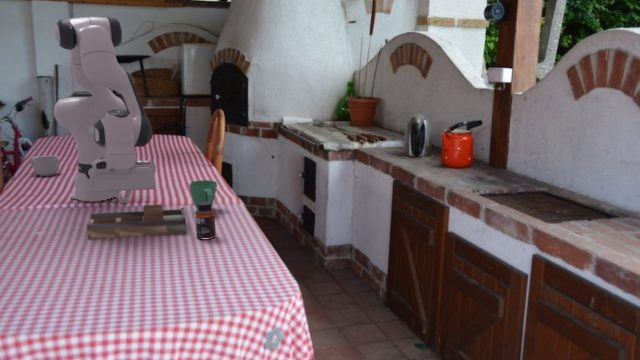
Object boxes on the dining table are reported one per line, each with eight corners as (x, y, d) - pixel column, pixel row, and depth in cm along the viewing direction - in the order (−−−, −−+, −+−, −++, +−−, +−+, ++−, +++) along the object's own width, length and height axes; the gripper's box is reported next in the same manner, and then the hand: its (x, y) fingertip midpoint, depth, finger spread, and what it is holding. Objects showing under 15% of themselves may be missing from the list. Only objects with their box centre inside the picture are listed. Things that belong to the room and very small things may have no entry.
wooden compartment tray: (91, 226, 210) (91, 212, 209) (184, 221, 217) (183, 207, 216) (87, 238, 197) (86, 223, 196) (186, 233, 205) (185, 218, 204)
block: (144, 218, 210) (143, 205, 209) (163, 217, 211) (162, 204, 210) (144, 223, 204) (143, 210, 203) (163, 222, 206) (162, 209, 205)
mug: (187, 207, 234) (186, 181, 232) (213, 205, 238) (212, 179, 236) (197, 218, 221) (196, 190, 219) (224, 215, 225) (224, 188, 223)
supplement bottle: (213, 233, 205) (212, 199, 202) (217, 239, 199) (216, 204, 197) (194, 235, 203) (193, 201, 200) (198, 241, 197) (197, 206, 195)
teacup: (65, 174, 285) (63, 157, 283) (43, 178, 276) (42, 160, 274) (45, 170, 292) (44, 153, 290) (24, 174, 283) (22, 157, 281)
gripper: (155, 158, 206) (157, 199, 209) (89, 160, 201) (92, 202, 204) (155, 162, 200) (157, 204, 203) (86, 164, 195) (89, 207, 198)
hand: (124, 203), depth 204 cm, fingers closed
